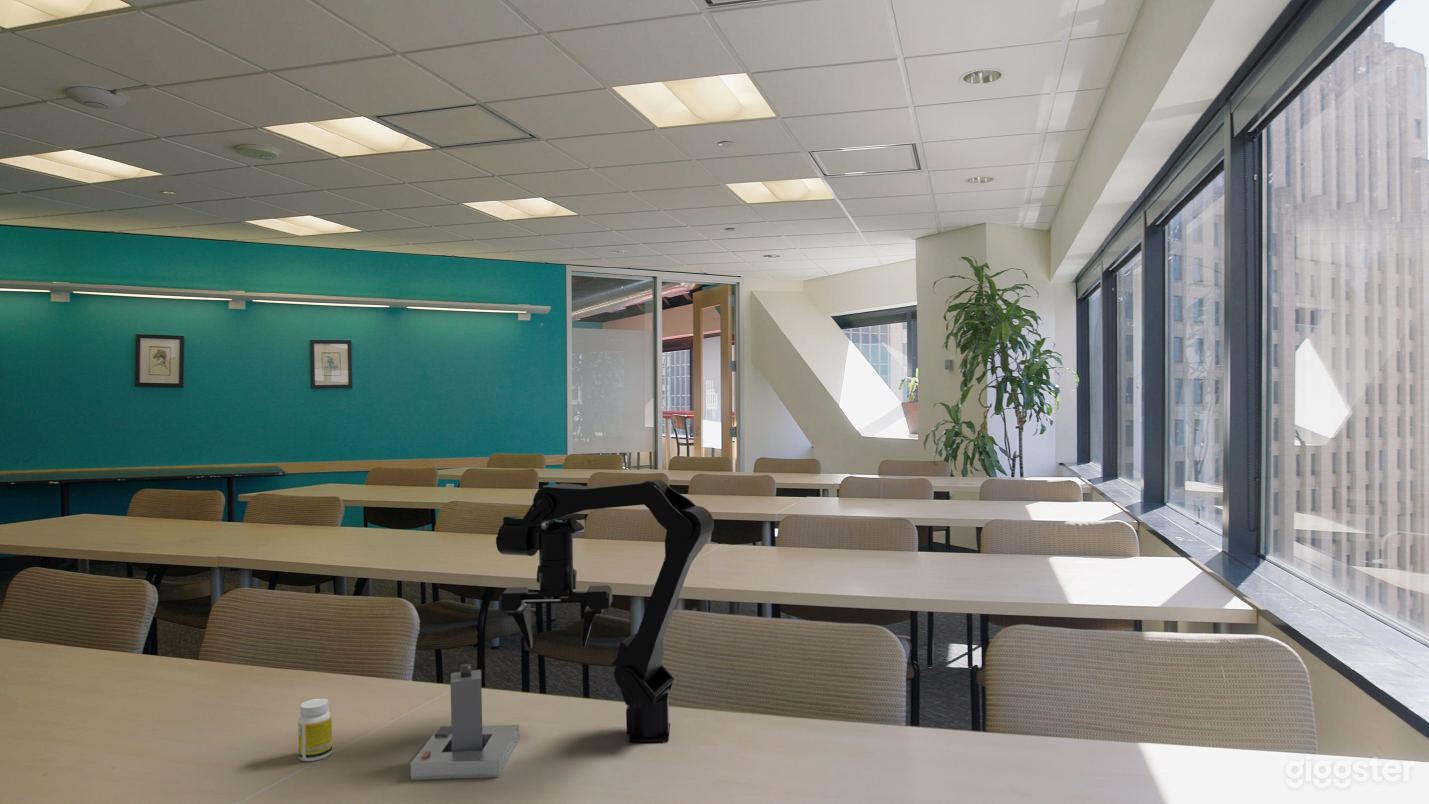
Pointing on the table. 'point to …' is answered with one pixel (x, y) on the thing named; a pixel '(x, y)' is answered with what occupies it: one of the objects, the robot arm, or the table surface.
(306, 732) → the supplement bottle
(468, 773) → the socket
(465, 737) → the plug
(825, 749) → the table surface
